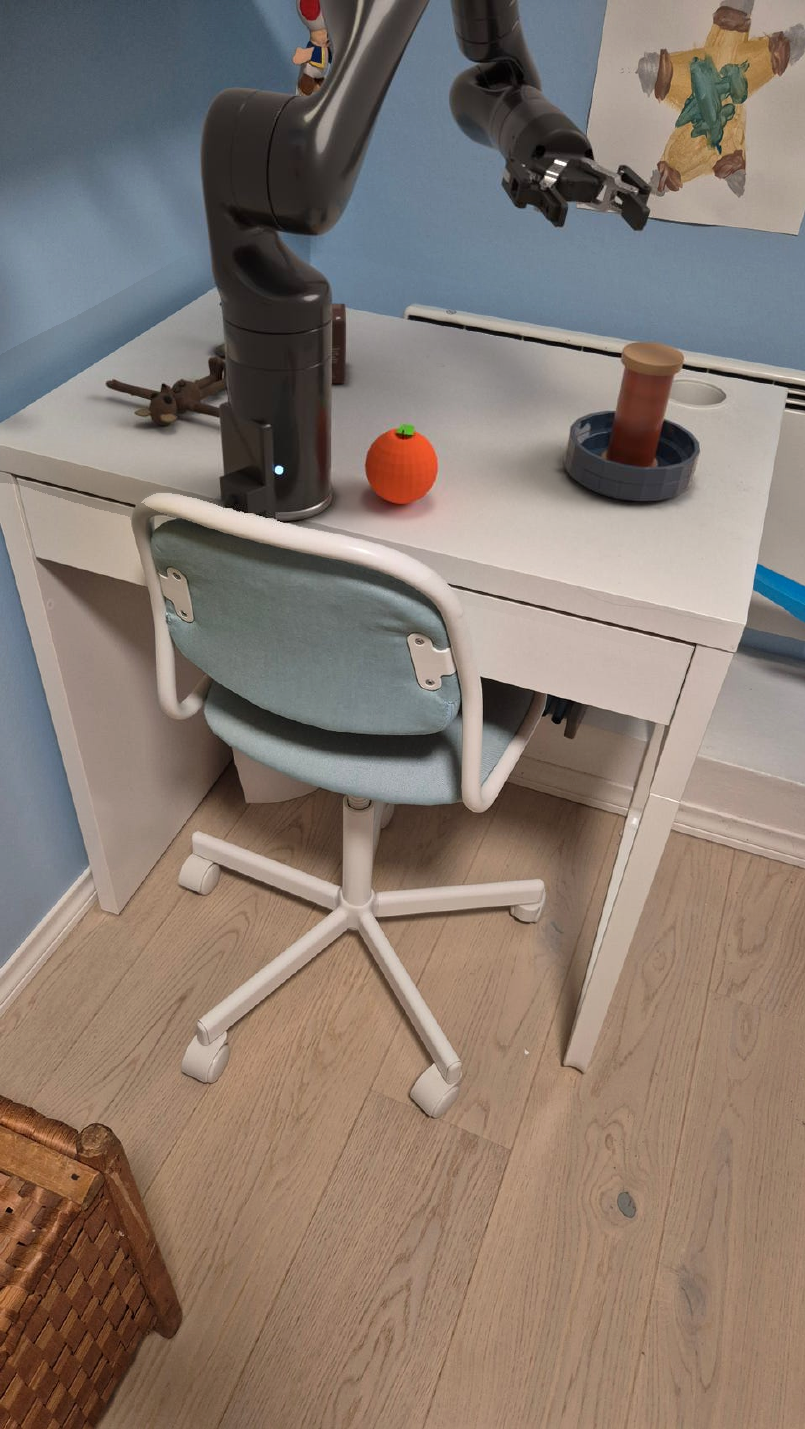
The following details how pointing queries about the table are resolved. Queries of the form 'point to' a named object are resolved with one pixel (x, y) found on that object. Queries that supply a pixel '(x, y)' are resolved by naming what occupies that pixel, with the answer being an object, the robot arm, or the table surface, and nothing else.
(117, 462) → the table surface
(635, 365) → the spool
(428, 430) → the table surface
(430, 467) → the clementine
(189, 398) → the bear figurine
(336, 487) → the table surface
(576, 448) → the bowl
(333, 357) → the box
